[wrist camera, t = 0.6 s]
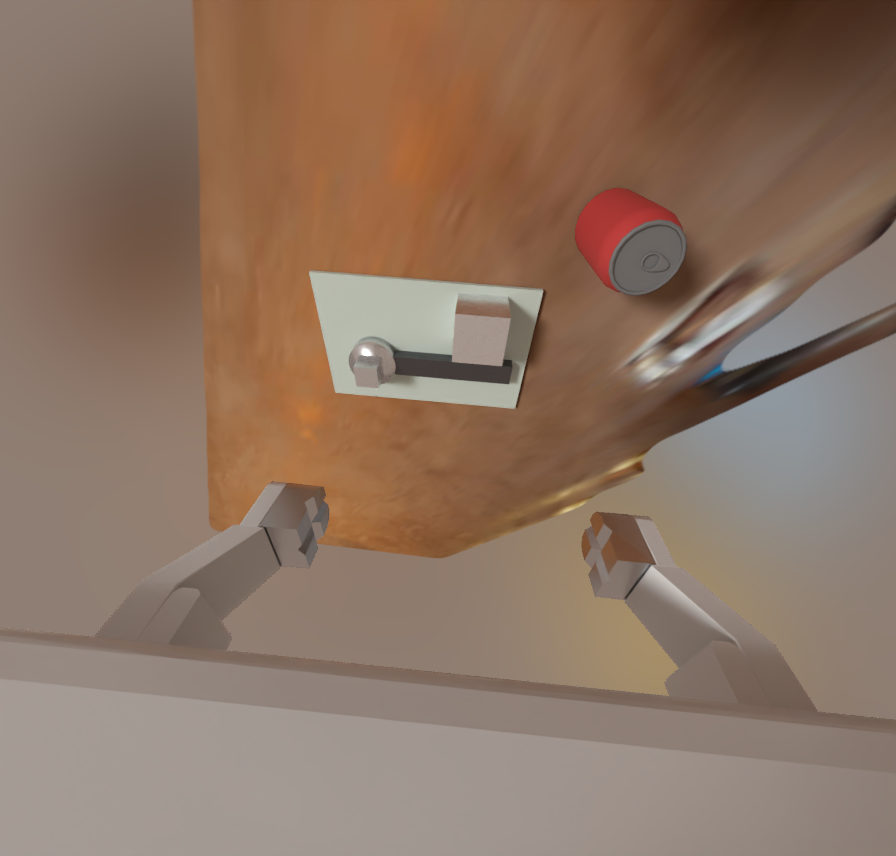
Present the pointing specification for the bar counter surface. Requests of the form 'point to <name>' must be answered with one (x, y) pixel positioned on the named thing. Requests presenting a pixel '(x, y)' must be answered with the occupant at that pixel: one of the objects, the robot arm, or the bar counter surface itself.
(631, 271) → the beer can
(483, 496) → the bar counter surface
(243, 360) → the bar counter surface
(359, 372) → the lever
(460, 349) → the grey box
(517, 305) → the mat
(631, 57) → the bar counter surface
